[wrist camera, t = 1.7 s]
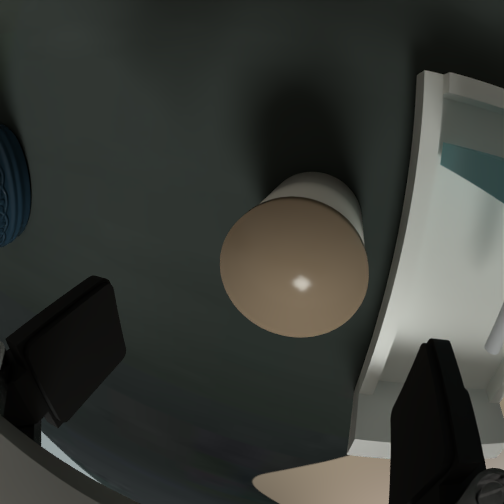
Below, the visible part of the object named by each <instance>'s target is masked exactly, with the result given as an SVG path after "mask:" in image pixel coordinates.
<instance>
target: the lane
mask: <svg viewBox="0 0 504 504" xmlns="http://www.w3.org/2000/svg"><path fill="white" fill-rule="evenodd" d="M443 142H445V143H449V144H453V145H457V146H461V147H465V148H469V149H473V150H477V151H481V152H484V153H488V154H491V155H495V156H498V157H502V158H504V89H503V88H500V87H497V86H495V85H492V84H489V83H485V82H482V81H479V80H476V79H473V78H469V77H466V76H462V75H459V74H455V73H451V72H449V73H446V74H444V75H443V74H439V73H435V72H431V71H426V70H424V71H423V72H421V73H419V74H418V75H417V81H416V101H415V115H414V127H413V138H412V147H411V156H410V164H409V171H408V179H407V185H406V192H405V198H404V204H403V210H402V216H401V221H400V226H399V231H398V237H397V241H396V246H395V251H394V255H393V260H392V264H391V269H390V273H389V277H388V281H387V285H386V289H385V293H384V297H383V301H382V304H381V308H380V312H379V315H378V319H377V322H376V326H375V329H374V332H373V336H372V339H371V342H370V346H369V349H368V352H367V355H366V358H365V361H364V364H363V367H362V370H361V373H360V376H359V379H358V381H357V384H356V387H355V390H354V395H353V406H352V416H351V425H350V434H349V442H348V449H347V455H355V456H363V457H373V458H386V459H391V427H390V417H391V411H392V408H393V406H394V404H395V402H396V400H397V398H398V396H399V394H400V392H401V389H402V387H403V385H404V383H405V381H406V379H407V376H408V374H409V372H410V369H411V367H412V365H413V363H414V360H415V358H416V355H417V353H418V350H419V348H420V346H421V344H422V343H427V342H428V340H429V339H431V338H433V339H443V340H449V341H450V343H451V345H452V348H453V351H454V355H455V358H456V361H457V364H458V367H459V370H460V374H461V377H462V380H463V384H464V387H465V389H466V390H468V393H469V395H470V399H471V402H472V406H473V410H474V414H475V418H476V422H477V426H478V431H479V435H480V440H481V445H482V449H483V455H484V459H487V458H496V457H497V456H498V455H499V454H500V453H501V452H502V450H503V449H504V418H503V415H502V411H501V408H500V404H499V403H500V401H501V400H502V398H503V397H504V344H503V346H502V348H501V350H500V351H499V353H498V354H496V355H493V354H490V353H489V352H487V351H486V350H485V348H484V345H485V343H486V341H487V339H488V337H489V335H490V332H491V330H492V328H493V326H494V324H495V321H496V319H497V317H498V314H499V312H500V310H501V307H502V305H503V302H504V204H503V203H502V202H501V201H499V200H498V199H496V198H495V197H493V196H491V195H490V194H488V193H487V192H485V191H484V190H482V189H481V188H479V187H477V186H476V185H474V184H473V183H471V182H469V181H468V180H466V179H464V178H463V177H461V176H459V175H458V174H456V173H454V172H452V171H451V170H449V169H447V168H445V167H444V166H442V165H440V162H441V155H442V146H443Z"/></svg>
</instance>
